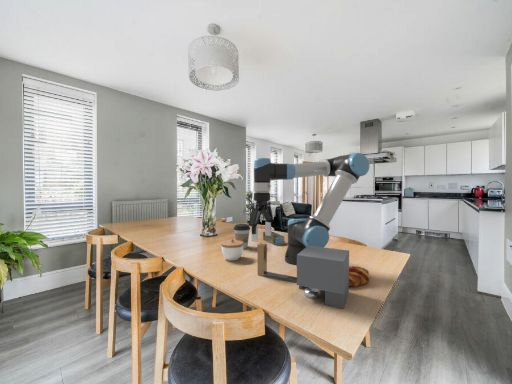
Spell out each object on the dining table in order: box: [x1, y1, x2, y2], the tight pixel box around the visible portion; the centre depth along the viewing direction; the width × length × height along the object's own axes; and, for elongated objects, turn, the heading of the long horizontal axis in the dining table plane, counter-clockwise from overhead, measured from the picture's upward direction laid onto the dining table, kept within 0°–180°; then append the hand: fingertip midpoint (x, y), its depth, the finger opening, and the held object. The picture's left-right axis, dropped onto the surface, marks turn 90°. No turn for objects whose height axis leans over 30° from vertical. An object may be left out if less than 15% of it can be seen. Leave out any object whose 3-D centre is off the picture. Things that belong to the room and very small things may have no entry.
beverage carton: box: [262, 230, 286, 246], centre depth 171 cm, size 8×19×7 cm, turn 25°
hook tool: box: [257, 242, 305, 290], centre depth 101 cm, size 22×8×14 cm, turn 62°
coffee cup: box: [233, 223, 251, 250], centre depth 156 cm, size 11×11×15 cm
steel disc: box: [304, 287, 319, 300], centre depth 87 cm, size 5×5×2 cm
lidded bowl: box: [220, 238, 244, 261], centre depth 132 cm, size 13×13×11 cm
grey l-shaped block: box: [296, 246, 350, 310], centre depth 88 cm, size 17×15×16 cm
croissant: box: [349, 265, 370, 287], centre depth 100 cm, size 21×10×8 cm, turn 133°
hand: (261, 238), depth 107 cm, fingers open, 13 cm apart
